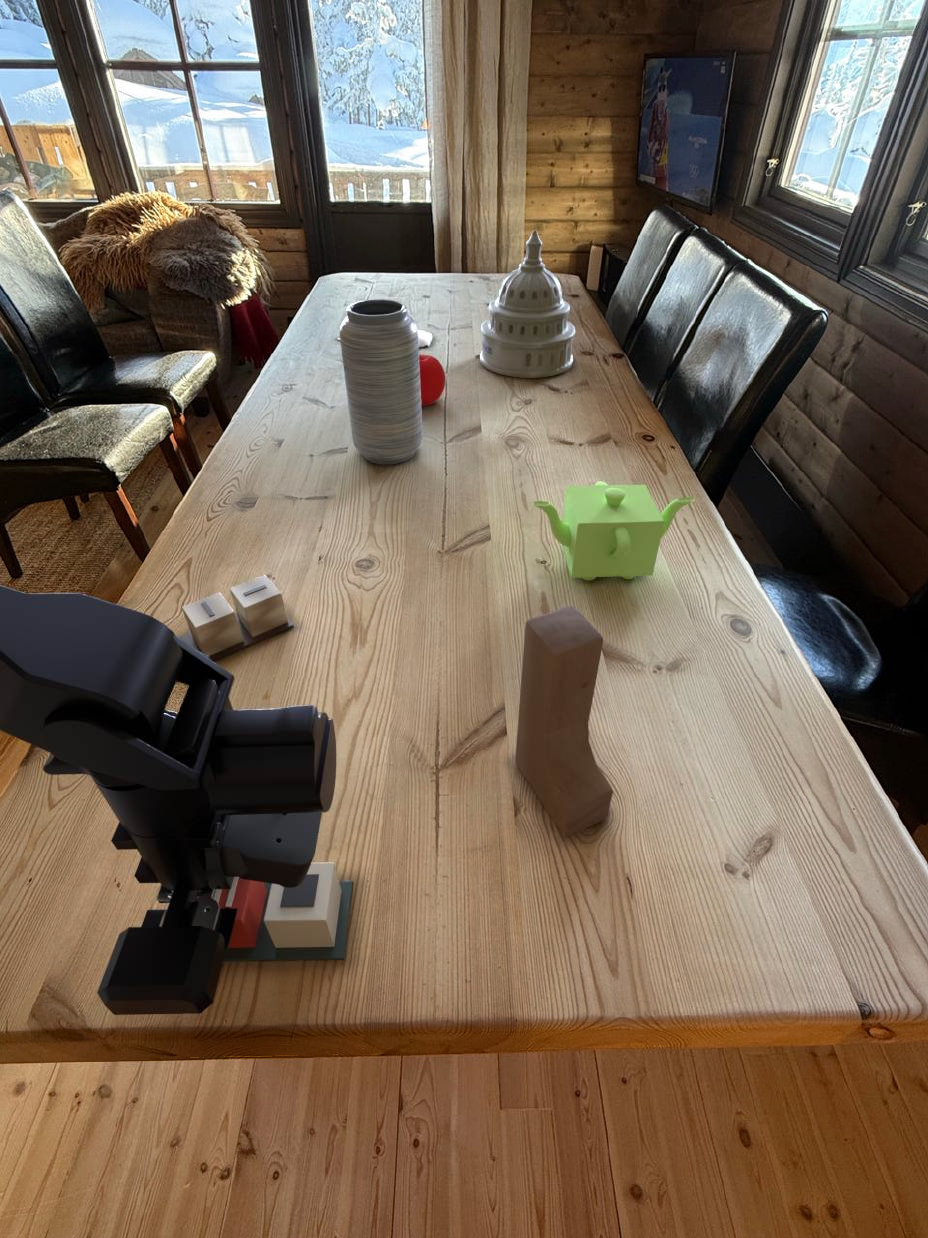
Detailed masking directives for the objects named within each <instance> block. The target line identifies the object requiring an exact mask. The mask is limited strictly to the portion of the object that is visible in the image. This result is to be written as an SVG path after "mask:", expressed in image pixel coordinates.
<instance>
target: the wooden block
mask: <svg viewBox="0 0 928 1238" xmlns="http://www.w3.org/2000/svg"><path fill="white" fill-rule="evenodd" d="M524 624H525V625H524V636H523V637H524V639H523V650H522V651H523V652H522V663H521V664H522V665H521V677H520V678H521V679H520V689H519V690H520V692H519V702H518V703H519V705H518V717H517V731H516V743H515V745H516V746H515V757H514V763H515V765H516V766H517V768H518V769H519V771H520V772H521V774H522V775H523V777H524V779H525V780H526V782H527V783H528V785H529V786H530V787H531V789H532V791H533V792H534V794H535V796H536V797H537V798H538V799H539V801H540V803H541V804H542V806H543V807H544V809H545V810H546V812H547V813H548V814H549V816H550V818H551V819H552V821H553V823H554V824H555V825H556V827H557V828H558V830H559V831H560V832H561V835H562V836H563V837H565V838H568V837H570V836H572V835H574V834H577V833H579V832H581V831H583V830H585V829H587V828H589V827H592V826H595V825H596V824H598V823H600V822H603V821H605V820H606V818H607V817H608V814H609V810H610V805H611V801H612V798H613V794H614V790H613V787H612V786H611V784H610V782H609V781H608V779H607V778H606V776H605V775H604V773H603V771H602V770H601V769H600V767H599V765H598V764H597V761H596V759H595V756H594V753H593V749H592V747H591V744H590V736H589V734H590V733H589V732H590V731H589V721H590V716H591V711H592V705H593V699H594V694H595V689H596V683H597V677H598V673H599V666H600V660H601V656H602V651H603V644H604V637H603V636H602V634H601V633H600V632H599V631H598V630H597V629H596V627H595V626H593V624H591V622H589V620H588V619H587V618H586V617H585V616H584V615H583V614H582V613H581V612H580V611H579V610H578V609H577V608H576V607H575V606H573V605H569V606H565V607H562V608H559V609H556V610H554V611H549V612H548V613H543V614H541V615H538V616H535V617H532V618H529V619H528V620H526V621H525V623H524Z"/></svg>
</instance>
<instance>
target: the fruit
mask: <svg viewBox="0 0 928 1238" xmlns="http://www.w3.org/2000/svg"><path fill="white" fill-rule="evenodd" d="M419 365H420V385H421V406H422V407H423V406H430V405H432V404H435V402H437V401H438V400H439V399H440V397H441V396H442V394H443V391H444V390H445V388H446V387H445V386H446V375H445V370H444V367H443V365H442V364H441V362H440V360H439V359H437V358H436V357H434V356H433V355H430V354H419Z"/></svg>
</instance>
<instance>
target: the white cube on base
mask: <svg viewBox="0 0 928 1238" xmlns="http://www.w3.org/2000/svg"><path fill="white" fill-rule="evenodd" d="M264 884H265V887H266V889H267V894H266V899H265V903H264V908H263V912H262V917H261V921H260V926H259V930H258V935H257V939H256V944H255V947H244V948H227V949H226V950H225V951H224V962H223V963H248V962H250V963H254V962H255V963H256V962H312V961H313V962H317V961H318V962H319V961H322V962H323V961H324V962H325V961H345V957H346V950H347V940H348V932H349V924H350V916H351V907H352V899H353V891H354V881H353V880H339V876H338V872H337V868H336V865H335V862H312V863H311V865H310V868H309V870H308V873H307V875H306V878H305V880H304V881H303V883H302V884H301V885H299V886H297V887H293V888H287V887H282V886H281V885H278V884H271V883H265V882H264Z"/></svg>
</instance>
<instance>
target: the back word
mask: <svg viewBox="0 0 928 1238" xmlns="http://www.w3.org/2000/svg"><path fill="white" fill-rule="evenodd" d="M228 589H229V592H230V595H231V598H232V599H231V600H232V602H233V605H234V608H235V610H234V609H233V608H232V607H231V605H230V603H228V601H227V600H226V598H225V597H224V596H223V594H222V593H221V592H220V591H219V592H217V593H214V594H212V595H209V596H207V597H204V598H202V599H198V600H196V601H193V602H191V603H188V604H186V605H183V606H181V610H182V613H183V615H184V618H185V620H186V623H187V626H188V629H189V632H188V633H186V634H183V635H181V636H179V637H178V636H177V637H178V638H180V639H181V640H183V641H184V642H186V643H187V644H189V645H190V646H192V647H193V648H195V649H196V650H198V651H200V652H202V653H204V654H206V655H208V656H210V658H209V659H211V660H212V661H213V662H215V663H216V662H218V661H220V660H222V659H224V658H227V657H229V656H231V655H234V654H235V653H238V652H240V651H243V650H245V649H248V648H250V647H252V646H255V645H256V644H259V643H262V642H264V641H266V640H268V639H271V638H273V637H276V636H278V635H280V634H283V633H284V632H287V631H289V630H292V629H294V628H295V624H293V622H292V621H291V620H290V618H288V615H287V612H286V607H285V603H284V599H283V594H282V592H281V591H280V590H279V588H278V587H277V586H276V585H275V584H274V583H273V582H272V581H271V579H270V578H269V577H268V576H267V575H266V574H262V575H260V576H258V577H254V578H253V579H250V580H248V581H244V582H242V583H240V584H237V585H234V586H232V587H230V588H228Z"/></svg>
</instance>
